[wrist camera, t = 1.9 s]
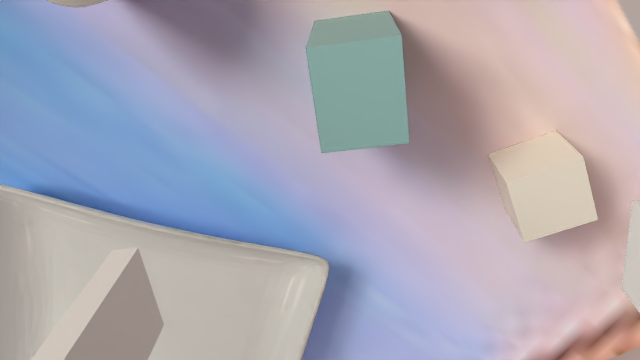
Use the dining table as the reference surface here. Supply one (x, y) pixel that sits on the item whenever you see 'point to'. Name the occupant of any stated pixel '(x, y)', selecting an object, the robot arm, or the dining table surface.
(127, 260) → the robot arm
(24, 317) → the square plate
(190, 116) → the dining table surface
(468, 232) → the dining table surface
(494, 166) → the cream cube
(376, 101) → the teal block
